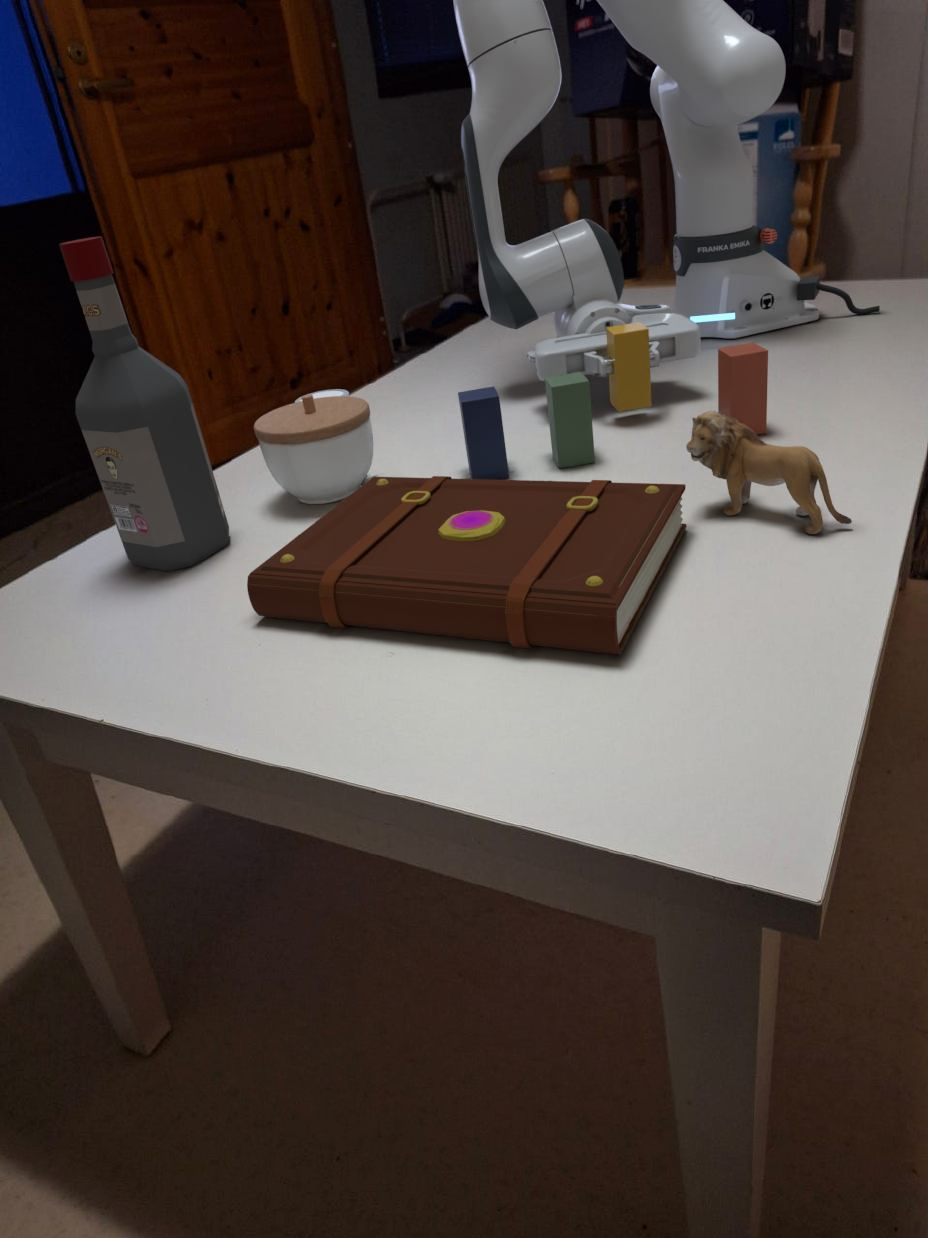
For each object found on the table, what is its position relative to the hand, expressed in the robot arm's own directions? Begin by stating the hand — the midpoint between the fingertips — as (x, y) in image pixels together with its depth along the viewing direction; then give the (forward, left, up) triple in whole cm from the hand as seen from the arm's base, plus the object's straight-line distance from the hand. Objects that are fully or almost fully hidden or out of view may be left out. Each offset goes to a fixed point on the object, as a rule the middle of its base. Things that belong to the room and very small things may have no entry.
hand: (630, 364), depth 104 cm
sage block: (+9, +10, -7) cm, 15 cm away
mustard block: (0, -1, -5) cm, 5 cm away
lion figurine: (-3, +32, -7) cm, 32 cm away
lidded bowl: (+37, +6, -7) cm, 38 cm away
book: (+23, +34, -7) cm, 41 cm away
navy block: (+19, +10, -7) cm, 22 cm away
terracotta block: (-10, +10, -7) cm, 15 cm away
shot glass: (+37, -8, -7) cm, 38 cm away
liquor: (+52, +16, -7) cm, 55 cm away
